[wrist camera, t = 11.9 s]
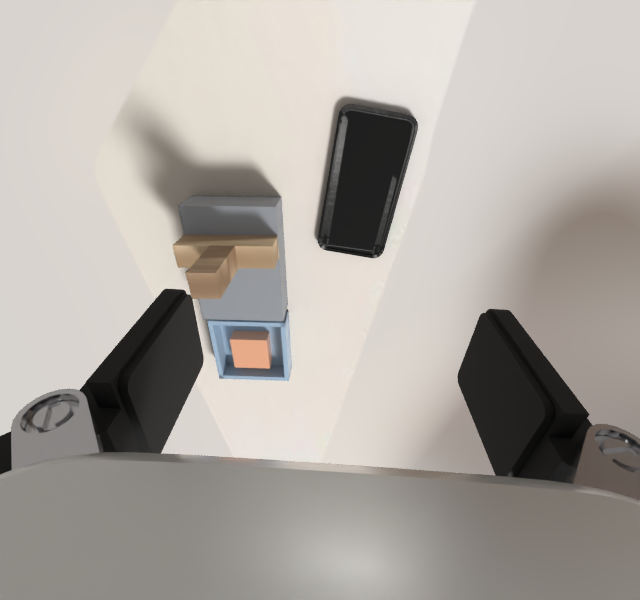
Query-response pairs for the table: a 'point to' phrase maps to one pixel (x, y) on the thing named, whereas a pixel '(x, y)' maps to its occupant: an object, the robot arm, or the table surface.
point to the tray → (277, 329)
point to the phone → (365, 179)
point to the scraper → (222, 259)
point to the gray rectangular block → (248, 283)
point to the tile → (251, 349)
